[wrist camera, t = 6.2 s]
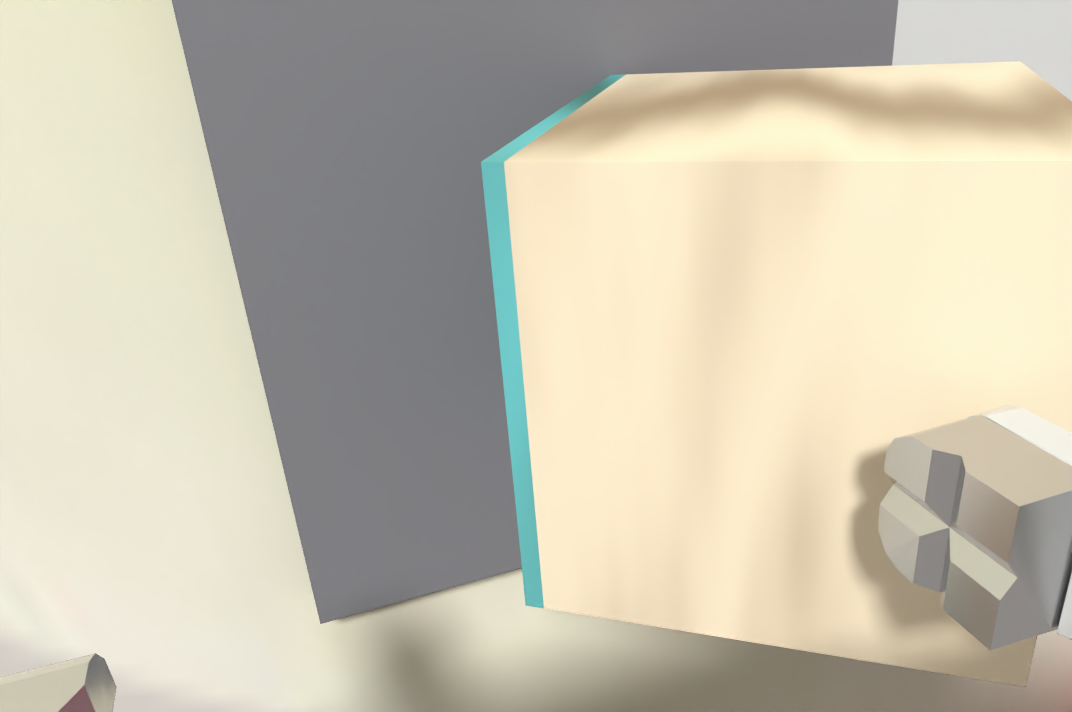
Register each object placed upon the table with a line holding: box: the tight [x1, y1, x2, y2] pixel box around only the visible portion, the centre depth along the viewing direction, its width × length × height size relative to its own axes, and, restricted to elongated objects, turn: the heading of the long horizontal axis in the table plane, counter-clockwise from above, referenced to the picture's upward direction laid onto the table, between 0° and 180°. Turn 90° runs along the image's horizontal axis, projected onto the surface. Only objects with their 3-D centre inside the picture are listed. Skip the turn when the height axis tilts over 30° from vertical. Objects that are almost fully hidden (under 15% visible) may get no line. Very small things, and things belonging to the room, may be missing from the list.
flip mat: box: [172, 0, 1072, 624], centre depth 20 cm, size 26×15×1 cm, turn 95°
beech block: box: [481, 61, 1072, 687], centre depth 14 cm, size 7×7×7 cm
